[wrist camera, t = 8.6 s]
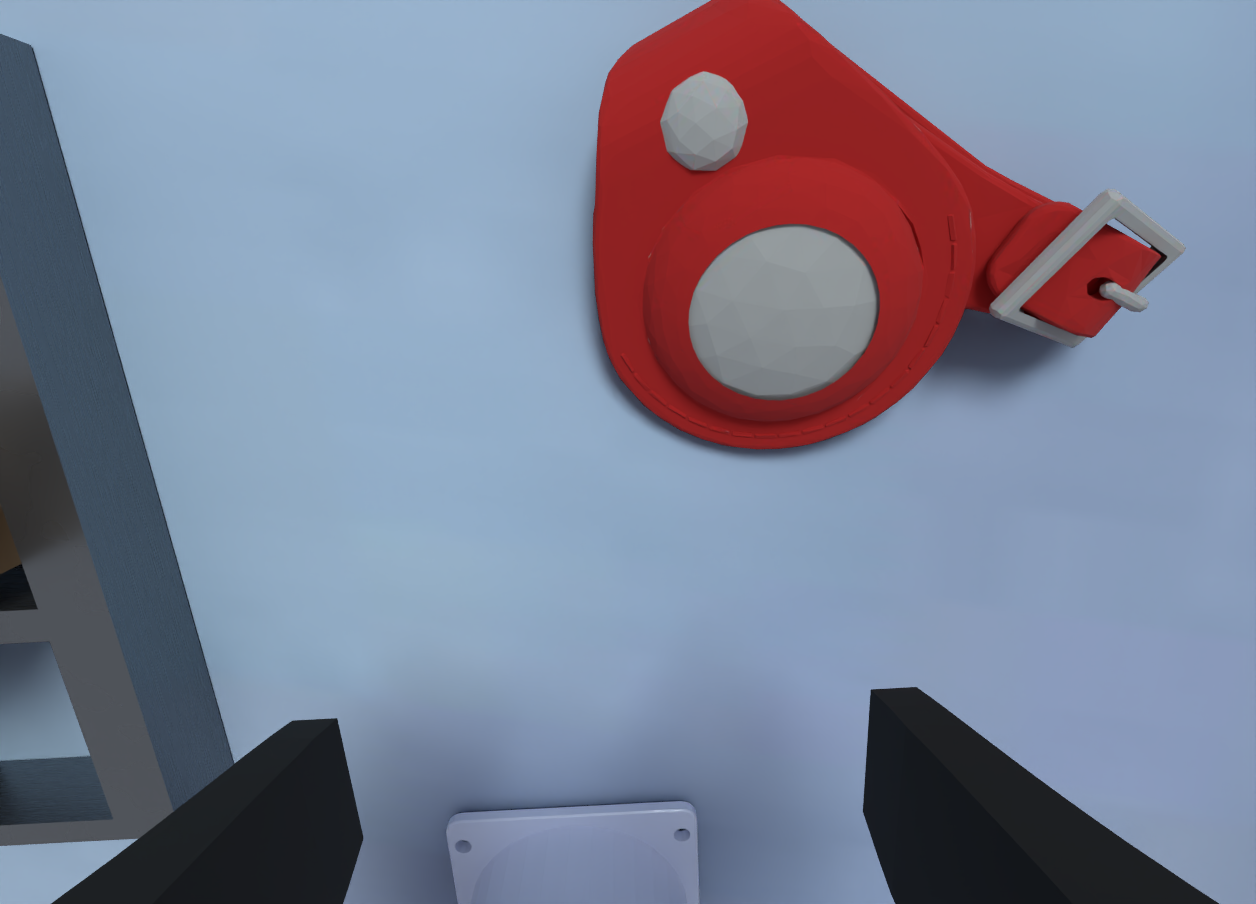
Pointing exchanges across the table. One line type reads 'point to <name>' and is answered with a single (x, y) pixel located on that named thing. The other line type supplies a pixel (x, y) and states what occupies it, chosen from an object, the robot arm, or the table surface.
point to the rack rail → (85, 521)
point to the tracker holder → (816, 235)
